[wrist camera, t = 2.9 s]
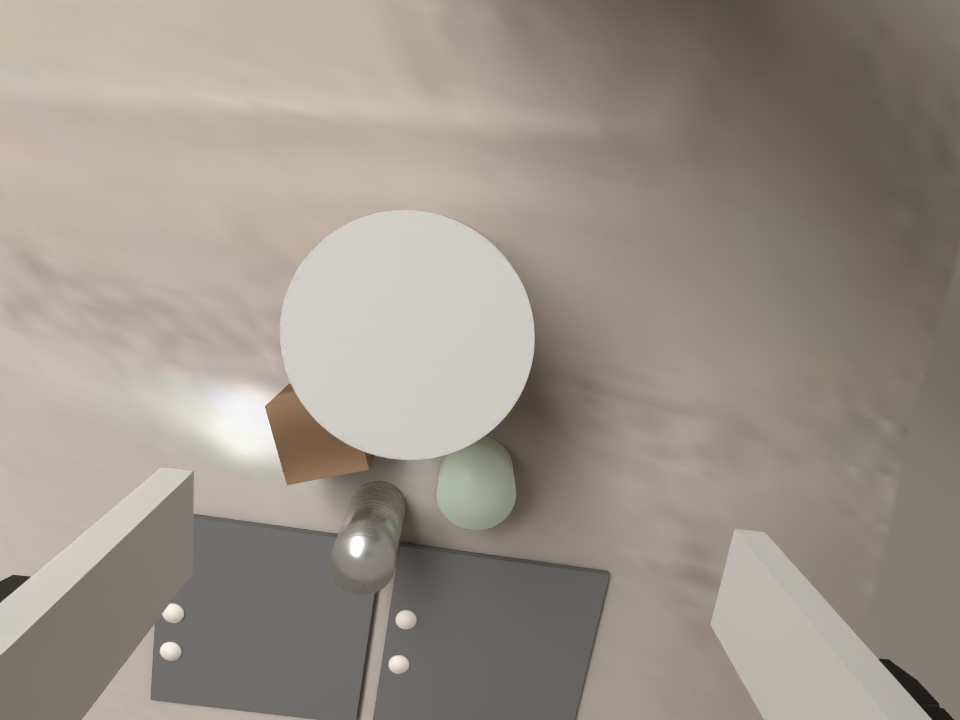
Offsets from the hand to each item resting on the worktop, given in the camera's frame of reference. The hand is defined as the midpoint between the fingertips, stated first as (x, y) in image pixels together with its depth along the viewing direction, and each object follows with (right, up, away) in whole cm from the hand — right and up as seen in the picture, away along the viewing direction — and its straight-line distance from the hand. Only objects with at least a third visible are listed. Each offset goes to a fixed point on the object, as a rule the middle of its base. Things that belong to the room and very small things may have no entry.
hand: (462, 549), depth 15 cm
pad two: (+1, -12, +21) cm, 25 cm away
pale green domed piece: (0, -1, +19) cm, 19 cm away
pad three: (-12, -10, +20) cm, 26 cm away
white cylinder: (-2, +8, +17) cm, 19 cm away
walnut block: (-7, +2, +18) cm, 19 cm away
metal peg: (-5, -4, +19) cm, 20 cm away
